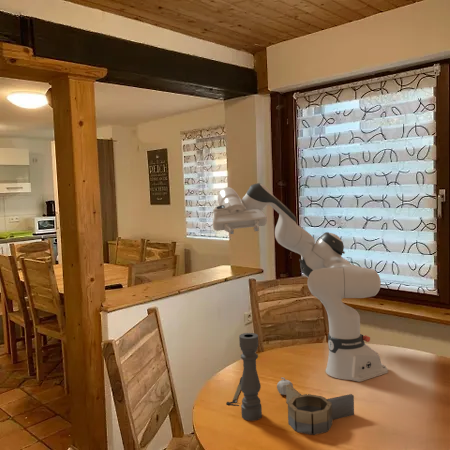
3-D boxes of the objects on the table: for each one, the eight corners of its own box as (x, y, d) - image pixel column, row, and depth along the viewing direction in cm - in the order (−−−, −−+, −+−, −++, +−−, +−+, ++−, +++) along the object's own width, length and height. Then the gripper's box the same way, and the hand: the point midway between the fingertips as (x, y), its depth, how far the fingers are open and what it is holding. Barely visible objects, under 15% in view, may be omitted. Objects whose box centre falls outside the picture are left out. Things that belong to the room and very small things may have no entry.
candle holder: (255, 422, 138) (252, 340, 136) (237, 418, 142) (234, 337, 140) (265, 413, 144) (262, 334, 142) (247, 409, 147) (244, 331, 145)
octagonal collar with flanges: (327, 394, 155) (327, 376, 154) (364, 423, 136) (364, 403, 135) (271, 406, 148) (270, 387, 148) (301, 437, 129) (300, 416, 129)
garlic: (275, 390, 160) (274, 375, 159) (290, 389, 160) (290, 374, 160) (278, 398, 154) (278, 382, 154) (295, 396, 154) (294, 381, 154)
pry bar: (246, 410, 149) (246, 406, 149) (225, 406, 151) (225, 403, 150) (257, 381, 169) (257, 378, 169) (239, 379, 171) (239, 376, 171)
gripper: (260, 216, 184) (271, 235, 173) (209, 222, 180) (217, 241, 169) (261, 202, 181) (272, 220, 169) (209, 207, 177) (217, 226, 165)
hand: (244, 231), depth 169 cm, fingers open, 8 cm apart
